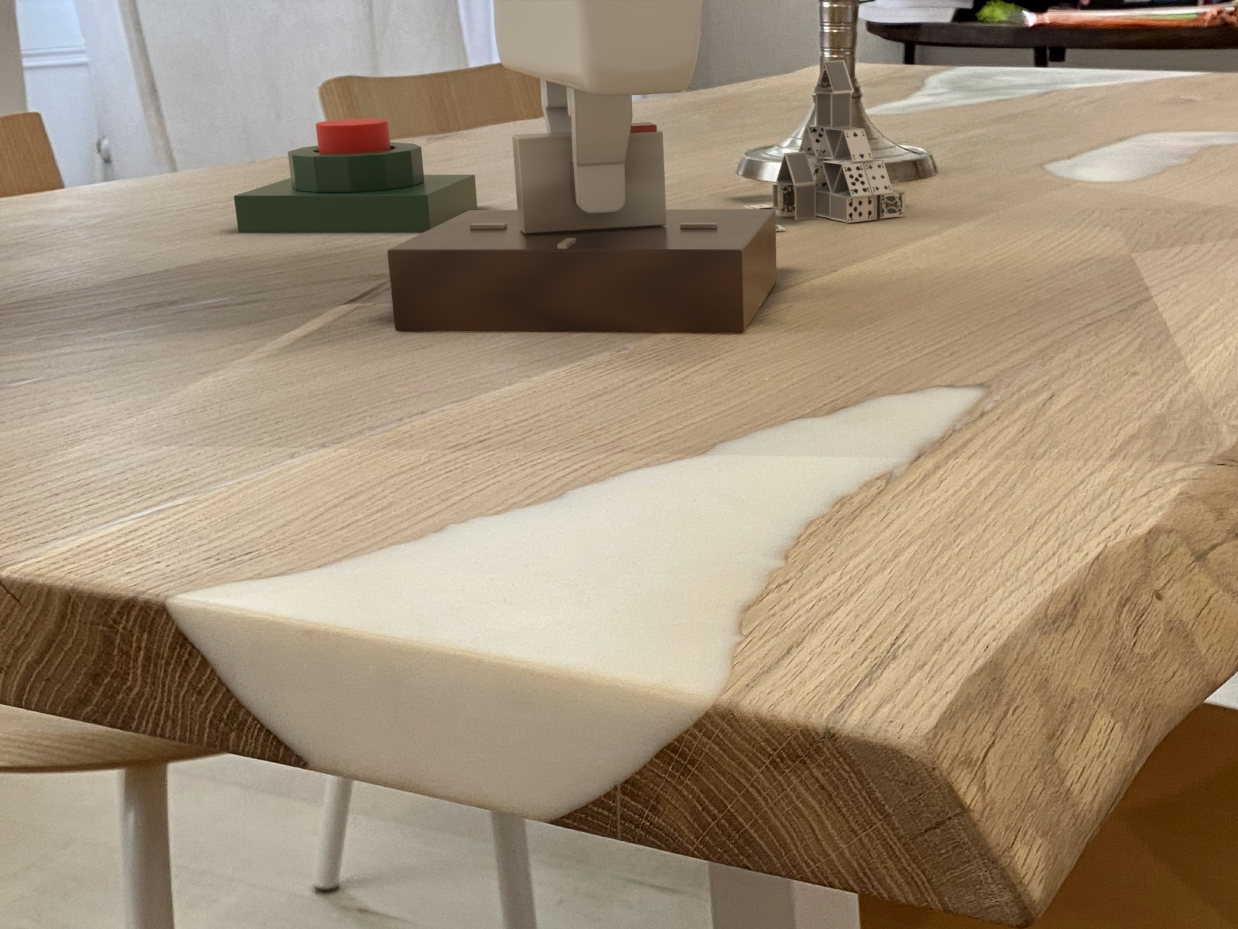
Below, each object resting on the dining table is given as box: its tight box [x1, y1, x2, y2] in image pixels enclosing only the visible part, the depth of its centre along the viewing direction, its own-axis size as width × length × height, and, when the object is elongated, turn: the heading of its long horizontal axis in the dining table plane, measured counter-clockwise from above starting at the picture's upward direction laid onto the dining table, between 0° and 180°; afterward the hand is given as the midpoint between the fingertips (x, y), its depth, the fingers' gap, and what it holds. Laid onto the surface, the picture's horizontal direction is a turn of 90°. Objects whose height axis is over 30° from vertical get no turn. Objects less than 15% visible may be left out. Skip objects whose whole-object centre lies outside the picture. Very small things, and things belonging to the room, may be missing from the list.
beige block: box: [511, 121, 667, 234], centre depth 62 cm, size 6×2×4 cm, turn 105°
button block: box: [233, 141, 478, 234], centre depth 83 cm, size 10×8×4 cm
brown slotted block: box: [386, 208, 778, 334], centre depth 63 cm, size 13×10×3 cm
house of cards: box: [743, 59, 906, 232], centre depth 84 cm, size 9×9×8 cm
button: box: [315, 118, 391, 153], centre depth 83 cm, size 4×4×2 cm
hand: (589, 205), depth 62 cm, fingers closed, pressing on beige block
